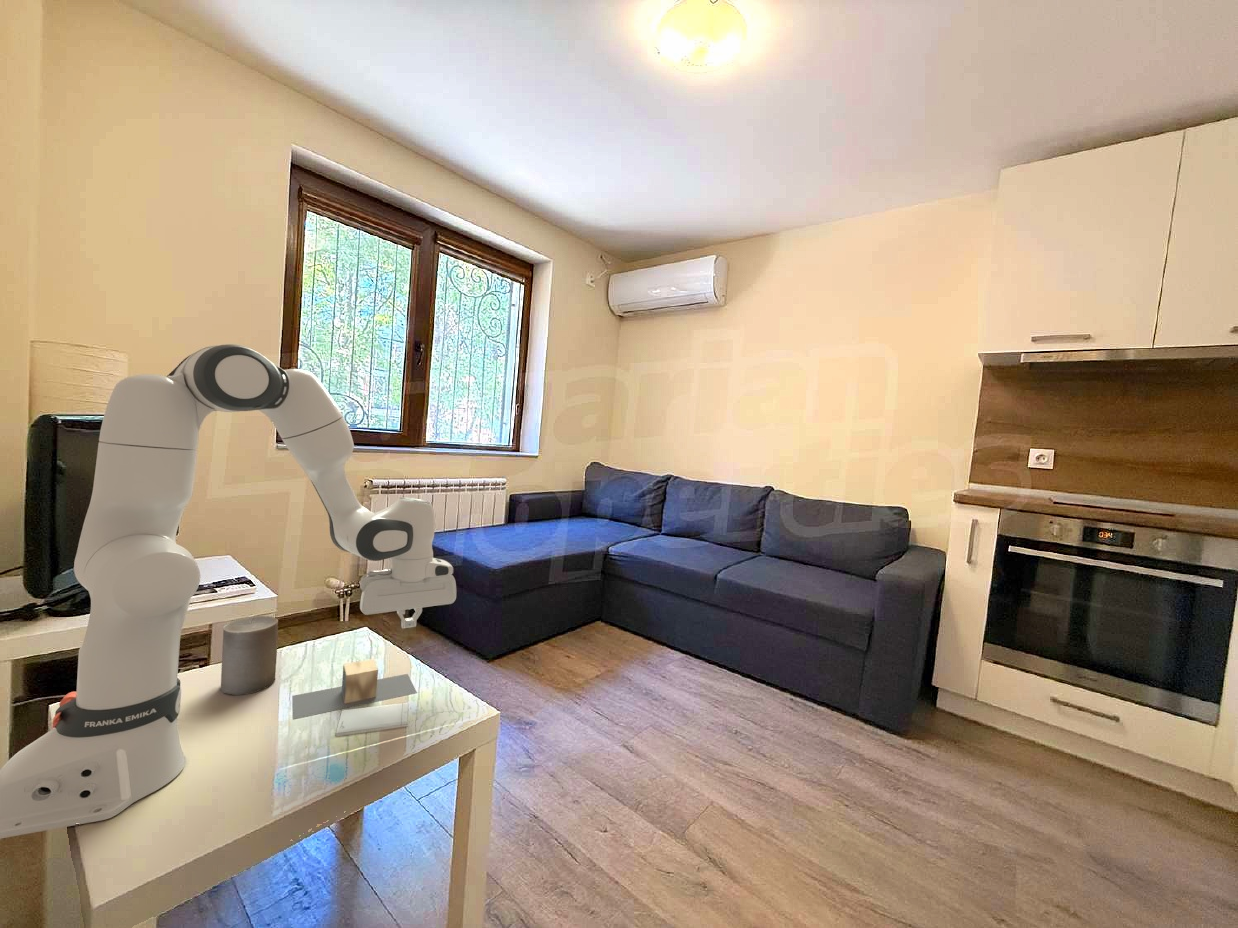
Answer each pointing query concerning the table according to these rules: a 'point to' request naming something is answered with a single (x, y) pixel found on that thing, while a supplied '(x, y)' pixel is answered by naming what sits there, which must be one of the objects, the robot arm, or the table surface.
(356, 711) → the hard drive
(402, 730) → the table surface
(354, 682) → the oak block
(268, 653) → the pillar candle
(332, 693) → the rubber mat
